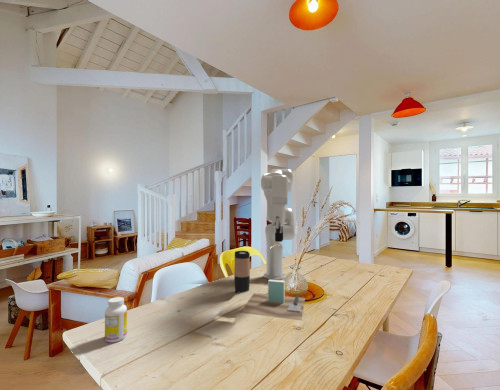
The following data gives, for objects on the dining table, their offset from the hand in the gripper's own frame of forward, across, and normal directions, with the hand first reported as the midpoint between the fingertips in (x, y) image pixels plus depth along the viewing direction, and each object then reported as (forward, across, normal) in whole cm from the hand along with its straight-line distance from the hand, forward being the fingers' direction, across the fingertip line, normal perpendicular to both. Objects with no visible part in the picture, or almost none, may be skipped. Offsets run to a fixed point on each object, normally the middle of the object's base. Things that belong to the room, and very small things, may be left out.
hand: (279, 240), depth 122 cm
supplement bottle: (+27, +49, -47) cm, 73 cm away
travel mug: (+27, -3, -19) cm, 33 cm away
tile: (+26, +7, 0) cm, 27 cm away
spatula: (+26, +8, +8) cm, 28 cm away
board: (+27, +11, 0) cm, 29 cm away
